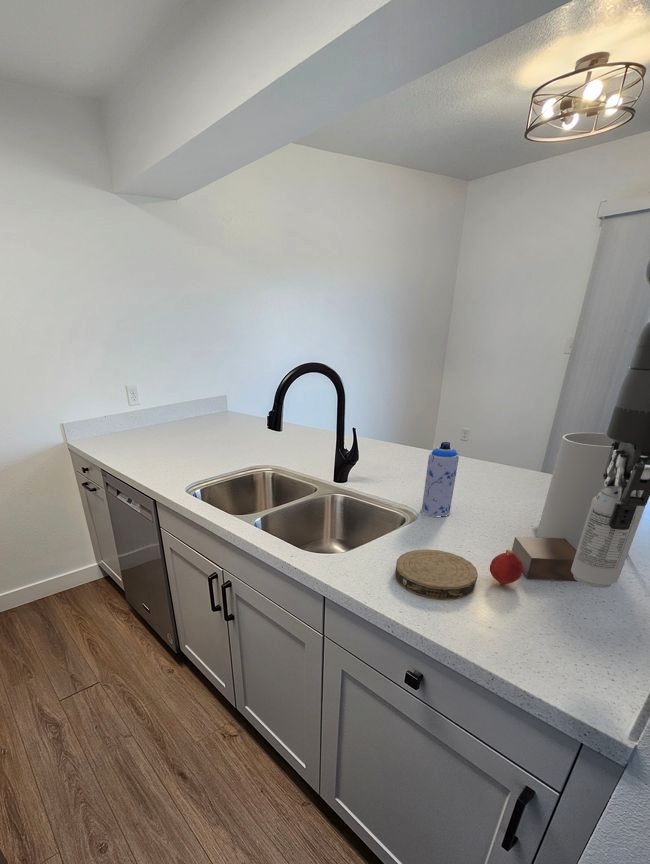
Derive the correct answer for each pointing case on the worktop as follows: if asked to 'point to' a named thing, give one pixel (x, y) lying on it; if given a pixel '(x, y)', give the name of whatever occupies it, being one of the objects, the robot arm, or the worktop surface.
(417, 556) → the wood slice
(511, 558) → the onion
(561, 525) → the cylinder vase
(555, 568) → the walnut block
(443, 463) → the aerosol can
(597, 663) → the worktop surface
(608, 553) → the energy drink can
